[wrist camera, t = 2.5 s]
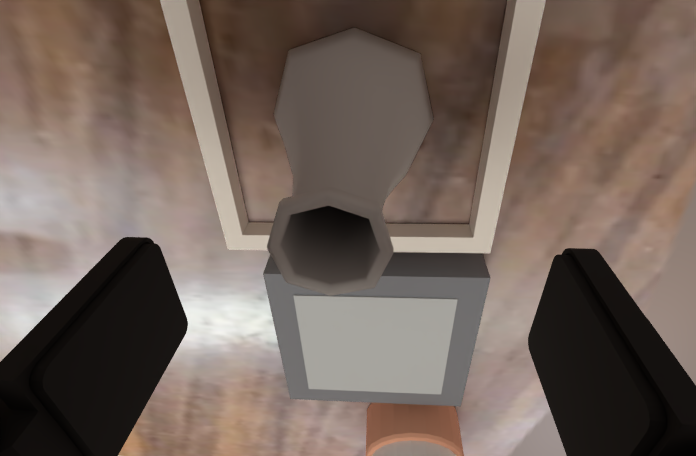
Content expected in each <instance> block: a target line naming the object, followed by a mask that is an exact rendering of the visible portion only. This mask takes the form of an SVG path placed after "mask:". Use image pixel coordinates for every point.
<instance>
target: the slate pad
mask: <svg viewBox="0 0 696 456" xmlns="http://www.w3.org/2000/svg"><path fill="white" fill-rule="evenodd" d="M263 275H264V280H265V284H266V289H267V293H268V298H269V303H270V307H271V312H272V317H273V321H274V326H275V330H276V335H277V340H278V344H279V349H280V353H281V358H282V363H283V367H284V372H285V376H286V381H287V386H288V390H289V395H290V399H304V400H327V401H349V402H372V403H395V404H417V405H440V406H461V403H462V399H463V394H464V390H465V386H466V381H467V377H468V373H469V368H470V364H471V360H472V355H473V351H474V347H475V342H476V338H477V334H478V329H479V325H480V321H481V316H482V312H483V308H484V303H485V299H486V295H487V290H488V286H489V282H490V276H489V273H488V269H487V266H486V263H485V260H484V257H483V254H465V253H395V252H393V255H392V257H391V259H390V261H389V263H388V264H387V266H386V268H385V270H384V272H383V274H382V275H381V277H380V279H379V281H378V283H377V285H376V286H375V288H371V289H365V290H359V291H354V292H348V293H343V294H337V295H332V296H329V295H326V294H323V293H319V292H316V291H313V290H309V289H306V288H303V287H299V286H296V285H292V284H289V283H286V282H285V280H284V278H283V276H282V274H281V272H280V271H279V269H278V267H277V265H276V263H275V261H274V260H273V258H272V256H271V254H270V257H269V259H268V262H267V265H266V268H265V270H264V273H263Z"/></svg>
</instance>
